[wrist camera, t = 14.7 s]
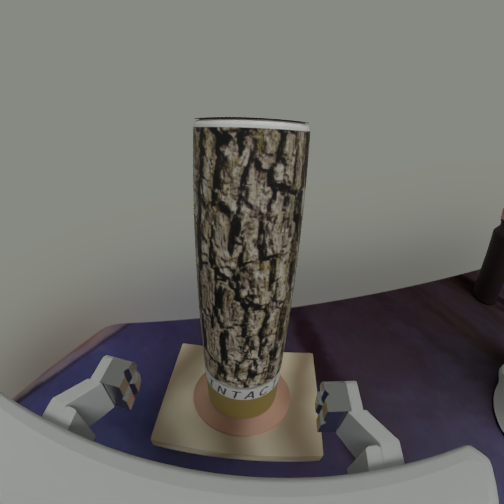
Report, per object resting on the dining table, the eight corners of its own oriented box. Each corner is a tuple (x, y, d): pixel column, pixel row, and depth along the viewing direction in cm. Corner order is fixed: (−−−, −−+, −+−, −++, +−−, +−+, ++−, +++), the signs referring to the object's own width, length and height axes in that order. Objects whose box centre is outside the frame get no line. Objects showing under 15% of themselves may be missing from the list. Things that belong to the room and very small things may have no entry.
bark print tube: (209, 371, 29) (199, 119, 18) (270, 369, 29) (295, 122, 18) (208, 422, 23) (185, 117, 12) (279, 420, 23) (327, 124, 12)
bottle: (468, 287, 48) (494, 203, 40) (488, 290, 47) (514, 210, 38) (478, 304, 43) (510, 213, 34) (498, 307, 41) (530, 221, 32)
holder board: (310, 361, 33) (312, 351, 32) (319, 460, 20) (324, 454, 20) (184, 351, 34) (182, 341, 33) (154, 445, 21) (149, 438, 20)
